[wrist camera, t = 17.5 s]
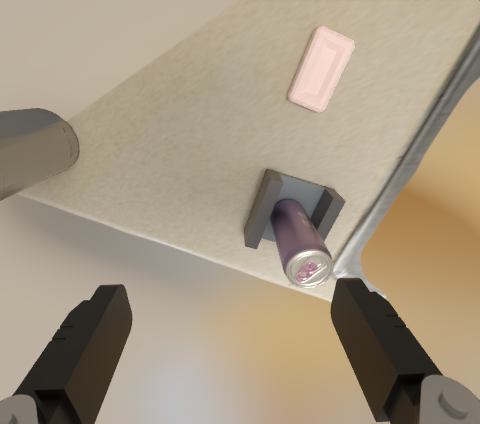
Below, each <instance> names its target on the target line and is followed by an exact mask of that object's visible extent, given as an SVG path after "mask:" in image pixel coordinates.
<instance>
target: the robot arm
mask: <svg viewBox="0 0 480 424" xmlns="http://www.w3.org/2000/svg"><path fill="white" fill-rule="evenodd" d="M78 152H79V146H78V141H77V138H76V136H75V133H74V132H73V130H72V129H71V127H70V126H69V125H68V124H67V122H66V121H64V120H63V119H62V118H60V116H58V115H56V114H54V113H53V112H51V111H48V110H45V109H39V108H35V109H23V110H12V111H2V112H0V201H1V200H3V199H5V198H7V197H9V196H11V195H13V194H15V193H17V192H20V191H22V190H24V189H26V188H28V187H30V186H32V185H34V184H36V183H38V182H40V181H42V180H44V179H46V178H48V177H51V176H53V175H55V174H57V173H59V172H61V171H63V170H65V169H67V168H69V167H70V166H72V165H73V164H74V162H75V161H76V159H77V156H78ZM331 318H332V322H333V325H334V327H335V329H336V332H337V334H338V336H339V339H340V341H341V343H342V345H343V347H344V350H345V352H346V354H347V357H348V359H349V361H350V363H351V366H352V368H353V370H354V373H355V375H356V377H357V379H358V382H359V384H360V386H361V389H362V391H363V393H364V395H365V398H366V400H367V402H368V405H369V407H370V409H371V411H372V413H373V416H374V418H375V420H376V422H386V421H390V423H391V424H480V400H479V399H478V398H477V397H476V396H475V395H474V394H473V393H472V392H471V391H470V390H469V389H467V388H466V387H465V386H463V385H462V384H460V383H459V382H457V381H455V380H453V379H451V378H448V377H445V376H443V374H442V373H441V372H440V371H439V369H438V368H437V367H436V365H435V364H434V363H433V361H432V360H431V359H430V357H429V356H428V354H427V353H426V352H425V350H424V349H423V348H422V347H421V345H420V344H419V342H418V341H417V340H416V338H415V337H414V335H413V334H412V333H411V331H410V330H409V329H408V328H406V325H405V323H404V322H403V321H402V319H401V318H400V317H398V314H397V312H396V311H395V310H394V308H393V307H392V306H391V304H390V303H389V302H388V301H387V300H386V299H384V298H383V297H382V296H381V295H379V294H378V293H377V292H370V291H369V290H368V288H367V287H366V285H365V284H364V282H363V281H362V280H361V279H360V278H339V279H338V280H337V282H336V286H335V291H334V295H333V300H332V304H331ZM131 326H132V312H131V308H130V304H129V300H128V297H127V293H126V289H125V287H124V285H122V284H119V285H100V286H99V287H98V288H97V290H96V291H95V293H94V295H93V296H92V298H91V299H90V300H84V301H82V302H81V303H80V304H79V305H78V306H77V307H75V308H74V309H73V310H72V311H71V312H70V313H69V314H68V316H67V317H66V319H65V320H64V321H63V323H62V324H61V326H60V329H58V330H57V332H56V333H55V335H54V336H53V338H52V341H50V342H49V343H48V345H47V346H46V348H45V349H44V351H43V352H42V354H41V355H40V357H39V358H38V360H37V361H36V362H35V364H34V365H33V367H32V368H31V370H30V371H29V373H28V374H27V376H26V377H25V379H24V380H23V381H22V383H21V384H20V386H19V387H18V389H17V390H16V391H15V393H14V394H13V395H12V396H11V397H8V398H6V399H4V400H1V401H0V424H94V423H95V421H96V418H97V416H98V413H99V410H100V408H101V405H102V403H103V400H104V398H105V395H106V393H107V390H108V387H109V385H110V382H111V379H112V377H113V374H114V372H115V369H116V367H117V364H118V362H119V359H120V356H121V354H122V351H123V349H124V346H125V344H126V341H127V338H128V336H129V333H130V330H131Z"/></svg>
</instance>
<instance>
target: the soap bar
mask: <svg viewBox="0 0 480 424" xmlns="http://www.w3.org/2000/svg"><path fill="white" fill-rule="evenodd" d="M354 47H355V44H354V41H353V40H351V39H349V38H347V37H345V36H343V35H341V34H339V33H336V32H334V31H332V30H330V29H328V28H326V27H324V26H321V27H319V28H317V29H316V30H314V31H313V34H312V36H311V39H310V41H309V44H308V46H307V48H306V51H305V53H304V56H303V58H302V61H301V63H300V66H299V68H298V70H297V73H296V75H295V78H294V80H293V83H292V85H291V88H290V90H289V92H288V95H287V97H288V100H289V101H291V102H294V103H296V104H299V105H301V106H303V107H306V108H308V109H311V110H313V111H315V112H318V113H321V112H323V111H324V110H325V108H326V106H327V104H328V102H329V100H330V97H331V95H332V93H333V91H334V89H335V87H336V85H337V83H338V81H339V79H340V76H341V74H342V72H343V70H344V68H345V66H346V64H347V62H348V60H349V58H350V56H351V53H352V51H353V49H354Z"/></svg>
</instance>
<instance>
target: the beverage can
mask: <svg viewBox="0 0 480 424" xmlns="http://www.w3.org/2000/svg"><path fill="white" fill-rule="evenodd" d="M270 221H271V225H272V229H273V233H274V236H275V240H276V244H277V248H278V251H279V255H280V259H281V263H282V266H283V270H284V273H285V275H286V276H287V278H288V280H289V281H290V282H291V283H292V284H293V285H295V286H297V287H300V288H313V287H317V286H319V285H321V284H323V283H325V282H326V281H327V280H328V279H329V278H330V276H331V274H332V272H333V262H332V257H331V254H330V253H329V251H328V249H327V247H326V246H325V244H324V242H323V240H322V239H321V237H320V235H319V233H318V232H317V230H316V228H315V226H314V225H313V223H312V221H311V219H310V218H309V216H308V214H307V212H306V211H305V209H304V207H303V206H302V205H301V204H300V203H299V202H297V201H295V200H283V201H281V202H279V203H277V204H276V205H275V206H274V208H273V211H272V213H271V216H270Z"/></svg>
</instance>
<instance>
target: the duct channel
mask: <svg viewBox="0 0 480 424" xmlns="http://www.w3.org/2000/svg"><path fill="white" fill-rule="evenodd" d="M283 200H295V201H297V202H299V203H300V204H301V205H302V206H303V207H304V209H305V211H306V212H307V214H308V216H309V218H310V219H311V221H312V223H313V225H314V226H315V228H316V230H317V232H318V233H319V235H320V237H321V239H322V240H323V242H324V241H325V239H326V237H327V235H328V233H329V232H330V230H331V228H332V226H333V224H334V222H335V220H336V219H337V217H338V215H339V213H340V211H341V209H342V207H343V206H344V204H345V202H346V201H345V200H344V199H343V198H342V197H341V196H340V195H339V194H338V193H337V192H336V191H335V190H334V189H331V188H327V187H324V186H321V185H318V184H314V183H311V182H308V181H305V180H301V179H298V178H295V177H292V176H288V175H285V174H282V173H279V172H275V171H272V170H269V169H267V170H266V173H265V176H264V178H263V181H262V184H261V186H260V189H259V192H258V195H257V197H256V200H255V203H254V205H253V208H252V211H251V213H250V216H249V219H248V221H247V224H246V227H245V230H244V238H245V246H246V247H250V248H254V249H257V247H258V245H259V242H260V240H261V238H263V239H267V240H270V241H274V242H276V240H275V236H274V233H273V229H272V225H271V221H270V216H271V213H272V211H273V208H274V206H275V205H276V204H277V203H279V202H281V201H283Z"/></svg>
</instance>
